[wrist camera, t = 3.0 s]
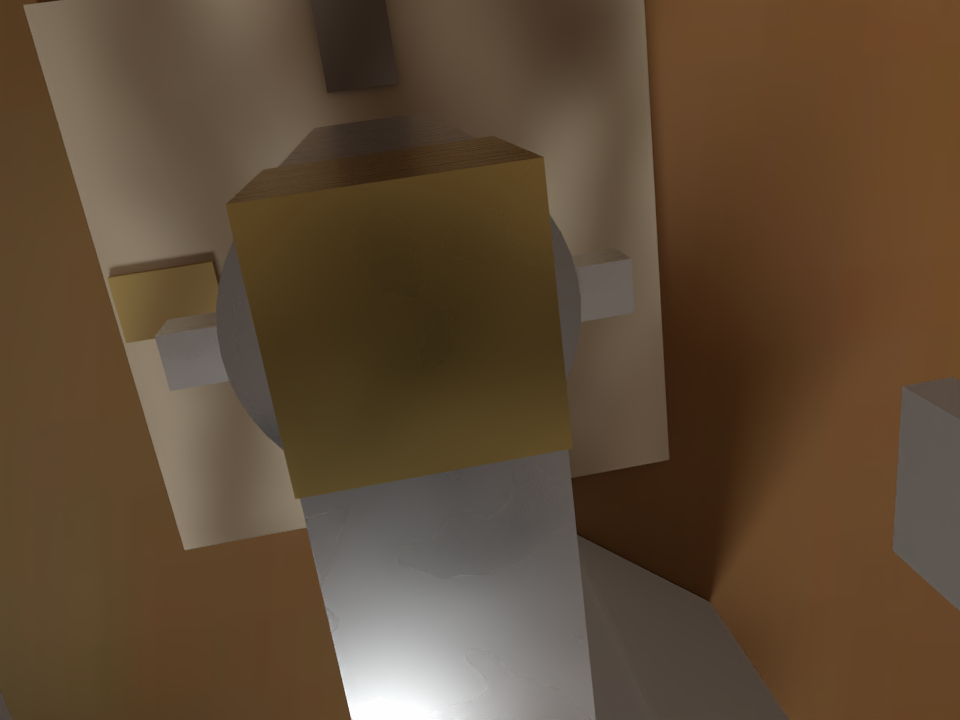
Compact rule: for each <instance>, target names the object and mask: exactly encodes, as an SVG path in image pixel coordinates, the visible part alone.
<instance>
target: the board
mask: <svg viewBox="0 0 960 720" xmlns="http://www.w3.org/2000/svg"><path fill="white" fill-rule="evenodd" d="M23 7H24V10H25V13H26V17H27V20H28V23H29V27H30V30H31V34H32V37H33V40H34V44H35V47H36V50H37V54H38V57H39V61H40V64H41V67H42V71H43V74H44V77H45V81H46V84H47V87H48V91H49V94H50V98H51V101H52V104H53V108H54V111H55V114H56V118H57V121H58V125H59V128H60V131H61V135H62V138H63V141H64V145H65V148H66V152H67V155H68V158H69V162H70V165H71V168H72V172H73V175H74V179H75V182H76V185H77V189H78V192H79V195H80V199H81V202H82V206H83V209H84V212H85V216H86V219H87V222H88V226H89V229H90V233H91V236H92V239H93V243H94V246H95V249H96V253H97V256H98V260H99V263H100V266H101V270H102V273H103V276H104V280H105V283H106V287H107V290H108V293H109V297H110V300H111V303H112V307H113V310H114V314H115V317H116V320H117V324H118V327H119V330H120V334H121V337H122V341H123V344H124V347H125V351H126V354H127V357H128V361H129V364H130V367H131V371H132V374H133V378H134V381H135V384H136V388H137V391H138V394H139V398H140V401H141V405H142V408H143V411H144V415H145V418H146V421H147V425H148V428H149V432H150V435H151V438H152V442H153V445H154V448H155V452H156V455H157V459H158V462H159V465H160V469H161V472H162V475H163V479H164V482H165V486H166V489H167V492H168V496H169V499H170V502H171V506H172V509H173V513H174V516H175V519H176V523H177V526H178V529H179V533H180V536H181V540H182V543H183V546H184V550H188V549H193V548H198V547H204V546H209V545H214V544H220V543H225V542H231V541H236V540H241V539H247V538H252V537H257V536H263V535H268V534H274V533H279V532H284V531H290V530H295V529H300V528H306V527H307V526H306V522H305V518H304V513H303V509H302V505H301V501H300V499H295V497H294V493H293V488H292V484H291V480H290V476H289V472H288V467H287V463H286V459H285V455H284V451H283V450H282V449H281V448H280V447H279V446H278V445H277V444H275V443H274V442H273V441H272V440H271V439H270V438H269V437H267V436H266V435H265V434H264V432H263V431H262V430H261V429H260V428H259V427H258V426H257V424H256V423H255V422H254V421H253V420H252V419H251V417H250V416H249V414H248V413H247V411H246V410H245V408H244V407H243V405H242V404H241V402H240V401H239V399H238V397H237V395H236V393H235V391H234V389H233V387H232V385H231V383H230V381H227V382H222V383H216V384H210V385H204V386H198V387H192V388H186V389H180V390H174V391H170V389H169V385H168V382H167V378H166V375H165V371H164V368H163V364H162V361H161V357H160V354H159V350H158V346H157V343H156V339H155V335H156V334H157V333H158V331H159V330H160V329H161V328H162V326H163V325H164V324H165V322H166V321H167V320H168V319H175V318H181V317H187V316H193V315H200V314H206V313H212V312H216V304H217V295H218V286H219V282H220V278H221V274H222V270H223V266H224V262H225V260H226V257H227V255H228V252H229V250H230V247H231V245H232V242H233V240H234V238H233V234H232V230H231V226H230V222H229V217H228V213H227V209H226V204H227V203H228V202H229V201H230V200H231V199H232V198H233V197H234V196H235V195H236V194H237V193H238V192H239V191H240V190H242V189H243V188H244V187H245V186H246V185H247V184H248V183H249V182H250V181H251V180H252V179H253V178H254V177H255V176H256V175H258V174H259V173H260V172H261V171H262V170H263V169H270V168H277V167H278V166H279V165H280V164H281V163H282V162H283V161H284V160H285V159H286V158H287V157H288V156H289V154H290V153H291V152H292V151H293V150H294V149H295V148H296V147H297V146H298V145H299V144H300V143H301V141H302V140H303V139H304V138H305V137H306V136H307V135H308V134H309V133H310V132H311V131H312V130H313V128H317V127H324V126H331V125H338V124H345V123H352V122H359V121H366V120H373V119H380V118H387V117H394V116H401V115H408V114H415V113H422V112H425V113H427V114H429V115H431V116H433V117H435V118H437V119H439V120H441V121H443V122H445V123H447V124H449V125H451V126H453V127H455V128H458V129H460V130H462V131H464V132H466V133H468V134H470V135H472V136H474V137H476V138H482V137H489V136H494V137H497V138H499V139H502V140H504V141H506V142H509V143H511V144H514V145H516V146H518V147H521V148H523V149H526V150H528V151H530V152H533V153H535V154H538V155H540V156H542V157H544V164H545V174H546V184H547V194H548V204H549V214H550V215H551V217H552V218H553V220H554V222H555V223H556V225H557V226H558V228H559V229H560V231H561V233H562V235H563V237H564V240H565V242H566V244H567V246H568V248H569V251H570V253H571V255H573V254H579V253H585V252H591V251H598V250H604V249H610V248H616V249H617V250H619V251H620V252H622V253H623V254H625V255H627V256H628V257H630V258H631V259H632V274H633V289H634V304H635V313H631V314H625V315H619V316H613V317H607V318H601V319H595V320H589V321H583V322H581V325H580V334H579V342H578V346H577V350H576V354H575V358H574V362H573V365H572V368H571V370H570V373H569V375H568V378H567V381H566V385H567V395H568V405H569V415H570V425H571V435H572V445H573V449H568V452H569V462H570V472H571V478H575V477H580V476H585V475H591V474H596V473H601V472H607V471H612V470H618V469H623V468H628V467H634V466H639V465H644V464H650V463H655V462H661V461H666V460H669V444H668V426H667V408H666V390H665V371H664V353H663V335H662V317H661V298H660V280H659V262H658V243H657V225H656V207H655V189H654V170H653V152H652V134H651V115H650V97H649V79H648V61H647V42H646V24H645V6H644V0H59V1H51V2H43V3H35V4H27V5H23Z"/></svg>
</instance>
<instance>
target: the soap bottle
mask: <svg viewBox="0 0 960 720" xmlns="http://www.w3.org/2000/svg"><path fill="white" fill-rule="evenodd" d="M577 540H578V550H579V560H580V570H581V580H582V589H583V599H584V609H585V619H586V629H587V638H588V648H589V658H590V668H591V678H592V687H593V697H594V707H595V717H596V720H789V718H788V717H787V715H786V714H785V712H784V711H783V709H782V708H781V706H780V705H779V703H778V702H777V700H776V699H775V697H774V696H773V694H772V693H771V691H770V690H769V688H768V687H767V685H766V684H765V683H764V681H763V680H762V678H761V677H760V675H759V674H758V672H757V671H756V669H755V668H754V666H753V665H752V663H751V662H750V660H749V659H748V657H747V656H746V654H745V653H744V651H743V650H742V648H741V647H740V645H739V644H738V642H737V641H736V639H735V638H734V636H733V635H732V633H731V632H730V631H729V629H728V628H727V626H726V625H725V623H724V622H723V620H722V619H721V617H720V616H719V614H718V613H717V611H716V610H715V608H714V607H713V605H712V604H711V603H710V602H709V601H707V600H705V599H703V598H701V597H699V596H697V595H695V594H693V593H691V592H689V591H687V590H685V589H683V588H681V587H679V586H677V585H675V584H673V583H671V582H669V581H667V580H665V579H663V578H661V577H659V576H657V575H655V574H654V573H652V572H650V571H648V570H646V569H644V568H642V567H640V566H638V565H636V564H634V563H632V562H630V561H628V560H626V559H624V558H622V557H620V556H618V555H616V554H614V553H612V552H610V551H608V550H606V549H604V548H602V547H600V546H598V545H596V544H594V543H592V542H591V541H589V540H587V539H585V538H583V537H581V536H579V535H577Z"/></svg>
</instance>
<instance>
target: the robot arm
mask: <svg viewBox="0 0 960 720" xmlns="http://www.w3.org/2000/svg"><path fill="white" fill-rule="evenodd" d="M893 551H894V552H895V553H896V554H897V555H898V556H899V557H900V558H902V559H903V560H904V561H905V562H906V563H907V564H908V565H909V566H910V567H911V568H913V569H914V570H915V571H916V572H917V573H918V574H919V575H920V576H921V577H923V578H924V579H925V580H926V581H927V582H928V583H929V584H930V585H931V586H933V587H934V588H935V589H936V590H937V591H938V592H939V593H940V594H941V595H942V596H944V597H945V598H946V599H947V600H948V601H949V602H950V603H951V604H952V605H954V606H955V607H956V608H957V609H958V610H959V611H960V381H959V380H957V379H955V378H954V377H951V378H946V379H940V380H935V381H929V382H923V383H918V384H912V385H907V386H903V387H902V404H901V421H900V438H899V455H898V472H897V489H896V506H895V523H894V540H893ZM0 720H12V718H11V715H10V713H9V710H8V708H7V706H6V703H5V701H4V699H3V696H2V694H1V692H0Z"/></svg>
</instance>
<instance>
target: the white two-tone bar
mask: <svg viewBox="0 0 960 720" xmlns="http://www.w3.org/2000/svg"><path fill="white" fill-rule="evenodd" d="M226 209H227V213H228V217H229V222H230V226H231V230H232V234H233V238H234V240H233V242H232V245H231V247H230V250H229V252H228V255H227V257H226V260H225V262H224V266H223V270H222V274H221V278H220V282H219V286H218V295H217V304H216V312H212V313H206V314H200V315H193V316H187V317H181V318H175V319H168V320H167V321H166V322H165V324H164V325H163V326H162V328H161V329H160V330H159V331H158V333H157V334H156V335H155V339H156V343H157V346H158V350H159V354H160V357H161V361H162V364H163V368H164V371H165V375H166V378H167V382H168V385H169V389H170V391H174V390H180V389H186V388H192V387H198V386H204V385H210V384H216V383H222V382H227V381H230V383H231V385H232V387H233V389H234V391H235V393H236V395H237V397H238V399H239V401H240V402H241V404H242V405H243V407H244V408H245V410H246V411H247V413H248V414H249V416H250V417H251V419H252V420H253V421H254V422H255V423H256V424H257V426H258V427H259V428H260V429H261V430H262V431H263V432H264V434H265V435H266V436H267V437H269V438H270V439H271V440H272V441H273V442H274V443H275V444H277V445H278V446H279V447H280V448H281V449H282V450H283V451H284V455H285V459H286V463H287V467H288V472H289V476H290V480H291V484H292V488H293V493H294V497H295V499H300V501H301V505H302V509H303V513H304V518H305V522H306V526H307V531H308V535H309V539H310V543H311V548H312V552H313V556H314V561H315V565H316V569H317V573H318V578H319V582H320V586H321V591H322V595H323V599H324V603H325V608H326V612H327V616H328V620H329V625H330V629H331V633H332V638H333V642H334V646H335V650H336V655H337V659H338V663H339V668H340V672H341V676H342V680H343V685H344V689H345V693H346V698H347V702H348V706H349V710H350V715H351V719H352V720H596V717H595V707H594V697H593V687H592V678H591V668H590V658H589V648H588V638H587V629H586V619H585V609H584V599H583V589H582V580H581V570H580V560H579V550H578V540H577V531H576V521H575V511H574V501H573V491H572V482H571V472H570V462H569V452H568V449H573V445H572V435H571V425H570V415H569V405H568V395H567V385H566V381H567V378H568V375H569V373H570V370H571V368H572V365H573V362H574V358H575V354H576V350H577V346H578V342H579V334H580V325H581V322H583V321H589V320H595V319H601V318H607V317H613V316H619V315H625V314H631V313H635V304H634V289H633V274H632V259H631V258H630V257H628V256H627V255H625V254H623V253H622V252H620V251H619V250H617V249H616V248H610V249H604V250H598V251H591V252H585V253H579V254H573V255H571V253H570V251H569V248H568V246H567V244H566V242H565V240H564V237H563V235H562V233H561V231H560V229H559V228H558V226H557V225H556V223H555V222H554V220H553V218H552V217H551V215H550V214H549V204H548V194H547V184H546V174H545V164H544V157H542V156H540V155H538V154H535V153H533V152H530V151H528V150H526V149H523V148H521V147H518V146H516V145H514V144H511V143H509V142H506V141H504V140H502V139H499V138H497V137H494V136H489V137H482V138H476V137H474V136H472V135H470V134H468V133H466V132H464V131H462V130H460V129H458V128H455V127H453V126H451V125H449V124H447V123H445V122H443V121H441V120H439V119H437V118H435V117H433V116H431V115H429V114H427V113H425V112H422V113H415V114H408V115H401V116H394V117H387V118H380V119H373V120H366V121H359V122H352V123H345V124H338V125H331V126H324V127H317V128H313V130H312V131H311V132H310V133H309V134H308V135H307V136H306V137H305V138H304V139H303V140H302V141H301V143H300V144H299V145H298V146H297V147H296V148H295V149H294V150H293V151H292V152H291V153H290V154H289V156H288V157H287V158H286V159H285V160H284V161H283V162H282V163H281V164H280V165H279V166H278V167H277V168H270V169H263V170H262V171H261V172H260V173H259V174H258V175H256V176H255V177H254V178H253V179H252V180H251V181H250V182H249V183H248V184H247V185H246V186H245V187H244V188H243V189H242V190H240V191H239V192H238V193H237V194H236V195H235V196H234V197H233V198H232V199H231V200H230V201H229V202H228V203H227V204H226Z"/></svg>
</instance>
